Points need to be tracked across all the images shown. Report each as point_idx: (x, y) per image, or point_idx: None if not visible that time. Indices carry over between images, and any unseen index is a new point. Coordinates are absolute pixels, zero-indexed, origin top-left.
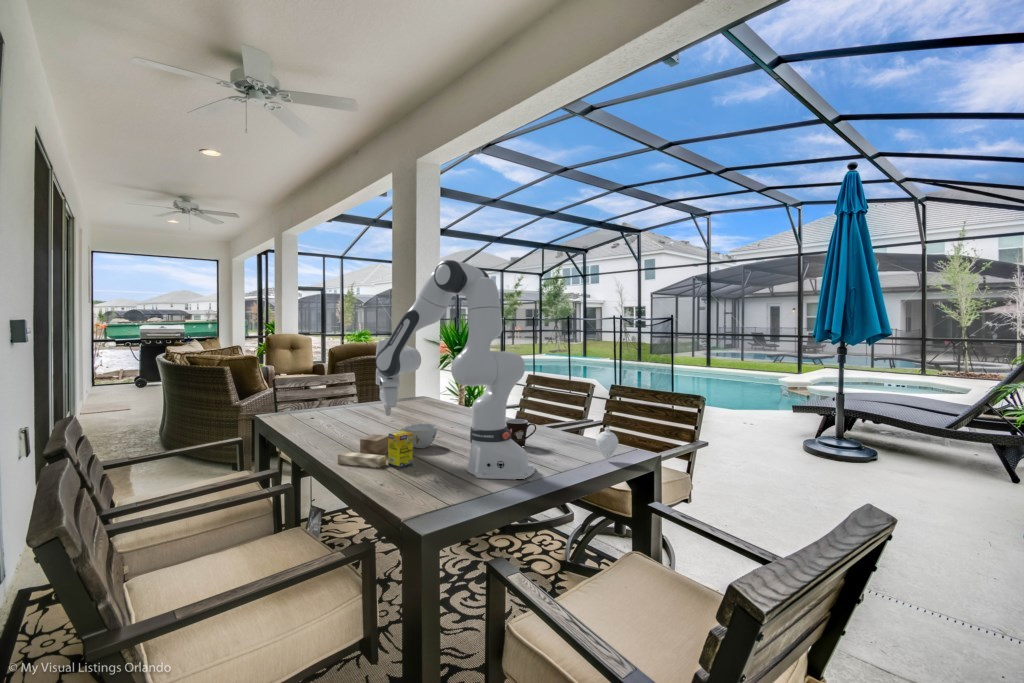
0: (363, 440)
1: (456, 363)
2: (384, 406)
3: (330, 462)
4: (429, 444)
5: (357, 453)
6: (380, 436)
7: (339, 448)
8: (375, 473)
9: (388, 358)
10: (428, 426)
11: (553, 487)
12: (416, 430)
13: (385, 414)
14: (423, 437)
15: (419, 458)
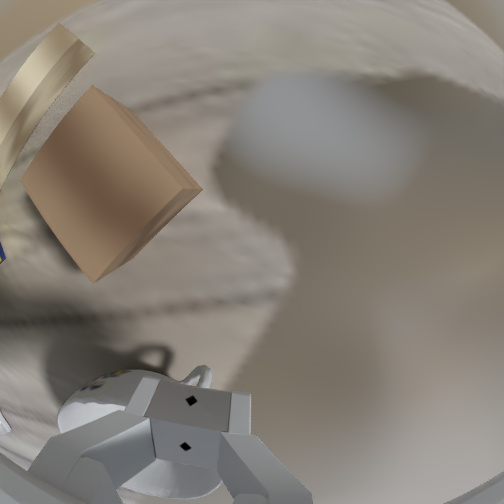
0: (76, 106)
1: None
2: (256, 477)
3: (104, 12)
4: None
5: (28, 92)
6: (92, 223)
7: (311, 47)
8: None
9: None
10: (198, 486)
11: None
12: (58, 412)
13: (168, 382)
14: (78, 412)
15: (22, 323)
